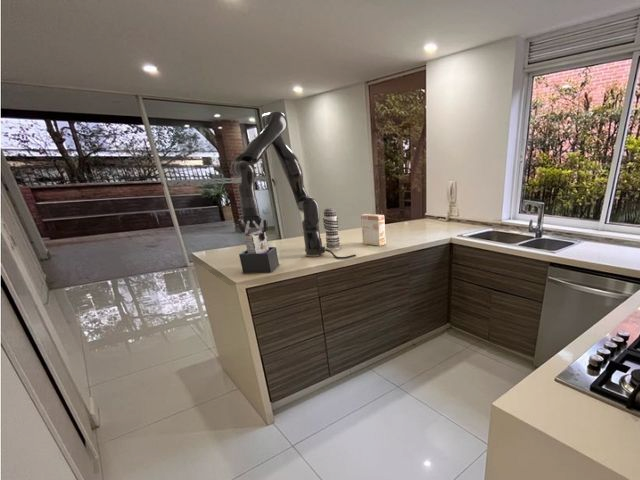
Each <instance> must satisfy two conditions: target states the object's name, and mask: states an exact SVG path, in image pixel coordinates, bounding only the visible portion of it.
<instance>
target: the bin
mask: <svg viewBox="0 0 640 480" xmlns="http://www.w3.org/2000/svg"><path fill="white" fill-rule="evenodd" d="M268 247H269V252H267V253H257V254H248V251H247V249H245V250H243V251H241V252H240V253H239V254H238V257H239V262H240V265H241V266H240V267H241V270H242V274H271V273H272V272H273V271H275V270H276V269H277V268H278V267H279V265H280V261H279V256H278V249H277V246H268Z"/></svg>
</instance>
